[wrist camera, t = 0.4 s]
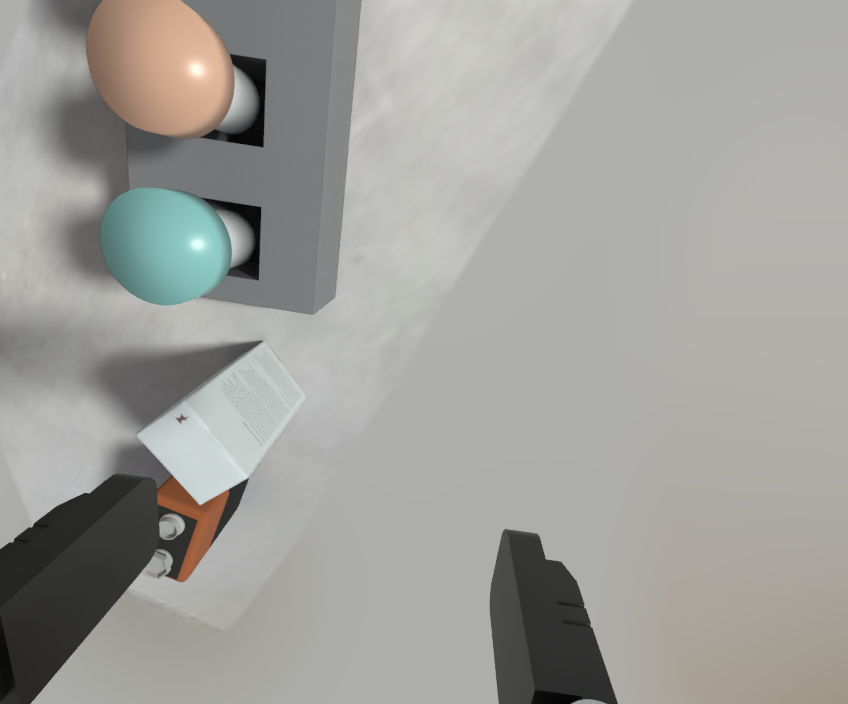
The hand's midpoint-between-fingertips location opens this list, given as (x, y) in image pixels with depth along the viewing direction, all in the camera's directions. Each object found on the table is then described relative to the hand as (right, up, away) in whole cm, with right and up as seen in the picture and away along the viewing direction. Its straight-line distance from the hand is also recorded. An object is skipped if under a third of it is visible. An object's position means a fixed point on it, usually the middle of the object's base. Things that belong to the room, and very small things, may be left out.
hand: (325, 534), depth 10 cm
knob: (-10, +11, +19) cm, 24 cm away
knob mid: (-9, +19, +16) cm, 27 cm away
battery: (-16, -7, +31) cm, 35 cm away
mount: (-9, +21, +22) cm, 31 cm away
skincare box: (-11, +2, +28) cm, 30 cm away
